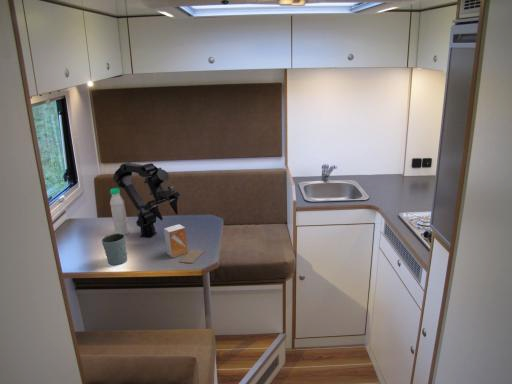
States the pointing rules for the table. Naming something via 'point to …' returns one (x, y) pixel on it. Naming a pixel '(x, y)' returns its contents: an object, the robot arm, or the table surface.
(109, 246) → the green cup
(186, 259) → the cork mat
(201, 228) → the table surface
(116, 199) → the water bottle
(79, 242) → the table surface
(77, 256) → the table surface
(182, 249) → the small box
